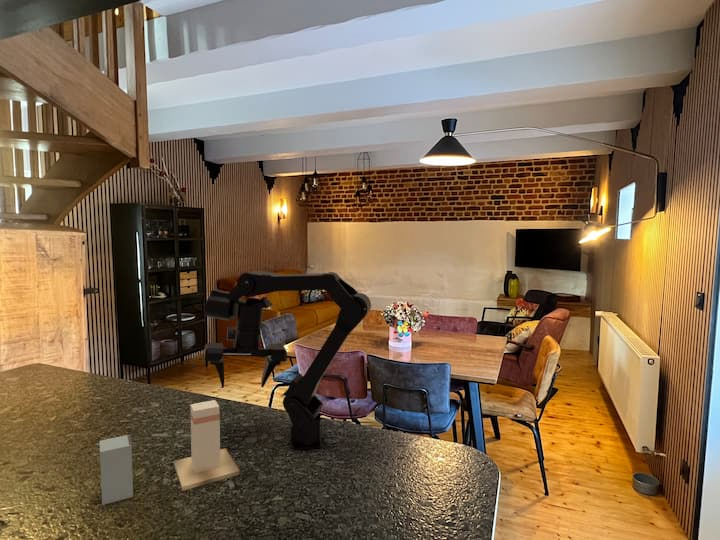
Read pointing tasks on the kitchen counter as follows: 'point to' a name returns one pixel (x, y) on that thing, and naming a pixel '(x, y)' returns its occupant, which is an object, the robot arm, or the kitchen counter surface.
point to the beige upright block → (205, 435)
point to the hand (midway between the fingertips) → (242, 386)
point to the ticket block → (116, 469)
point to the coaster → (193, 479)
